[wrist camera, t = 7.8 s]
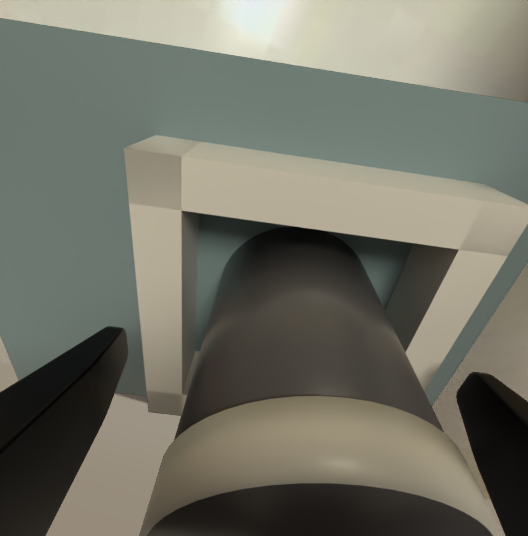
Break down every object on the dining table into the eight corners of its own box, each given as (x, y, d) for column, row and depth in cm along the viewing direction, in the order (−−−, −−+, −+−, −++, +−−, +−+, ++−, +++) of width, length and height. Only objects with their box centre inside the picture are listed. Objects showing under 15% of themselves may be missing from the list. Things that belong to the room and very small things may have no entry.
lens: (392, 235, 9) (602, 505, 3) (347, 355, 12) (418, 627, 6) (221, 212, 9) (114, 455, 3) (214, 340, 12) (149, 604, 6)
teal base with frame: (514, 108, 11) (725, 127, 6) (389, 361, 18) (436, 475, 12) (-1, 25, 10) (-279, -35, 5) (71, 321, 17) (-19, 424, 12)
